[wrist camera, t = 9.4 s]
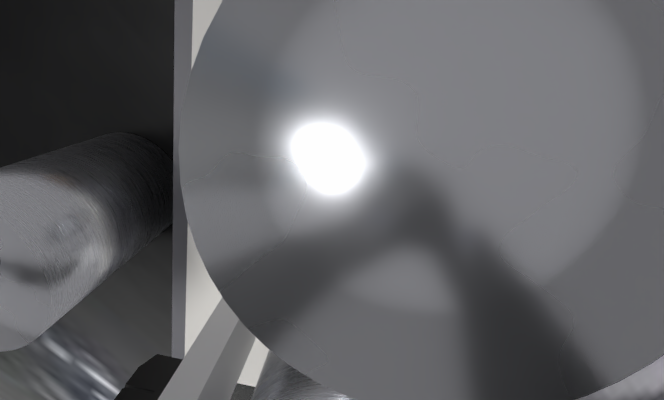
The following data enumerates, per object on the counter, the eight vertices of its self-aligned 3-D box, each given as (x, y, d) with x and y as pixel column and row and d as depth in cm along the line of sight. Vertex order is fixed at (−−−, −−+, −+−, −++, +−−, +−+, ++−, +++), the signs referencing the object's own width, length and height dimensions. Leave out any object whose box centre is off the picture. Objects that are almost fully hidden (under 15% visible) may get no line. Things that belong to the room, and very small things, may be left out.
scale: (209, 309, 20) (159, 385, 16) (228, -81, 14) (155, -145, 10) (495, 367, 20) (532, 464, 15) (649, -16, 13) (791, -50, 9)
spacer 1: (83, 224, 19) (-99, 332, 12) (75, 123, 18) (-147, 177, 10) (182, 243, 19) (58, 366, 12) (184, 142, 17) (38, 213, 10)
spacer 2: (302, 166, 12) (175, 364, 4) (328, -21, 10) (183, -219, 3) (469, 197, 12) (629, 459, 4) (526, 11, 10) (988, -104, 2)
